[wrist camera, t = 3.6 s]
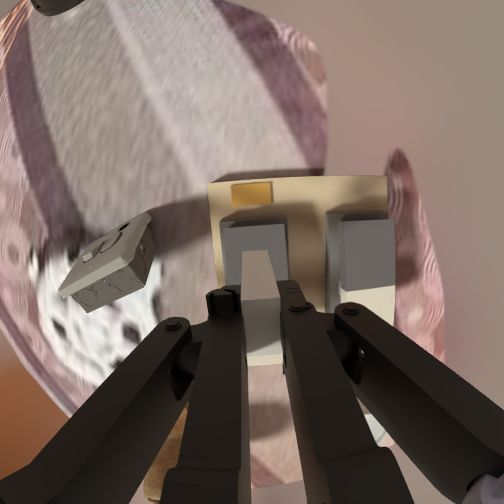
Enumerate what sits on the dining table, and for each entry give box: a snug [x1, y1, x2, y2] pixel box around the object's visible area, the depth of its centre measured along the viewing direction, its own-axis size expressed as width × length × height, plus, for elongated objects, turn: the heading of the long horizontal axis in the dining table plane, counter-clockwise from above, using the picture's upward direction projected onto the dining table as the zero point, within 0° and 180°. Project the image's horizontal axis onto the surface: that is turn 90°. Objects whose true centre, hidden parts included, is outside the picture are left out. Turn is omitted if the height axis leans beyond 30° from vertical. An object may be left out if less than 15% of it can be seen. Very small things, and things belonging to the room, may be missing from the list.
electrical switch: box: [58, 212, 158, 313], centre depth 24 cm, size 9×5×9 cm, turn 114°
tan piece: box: [143, 402, 189, 504], centre depth 29 cm, size 15×12×15 cm
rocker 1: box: [223, 224, 288, 366], centre depth 24 cm, size 12×5×2 cm, turn 4°
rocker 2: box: [338, 219, 395, 326], centre depth 24 cm, size 12×5×2 cm, turn 4°
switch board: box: [207, 176, 388, 313], centre depth 28 cm, size 20×18×4 cm
